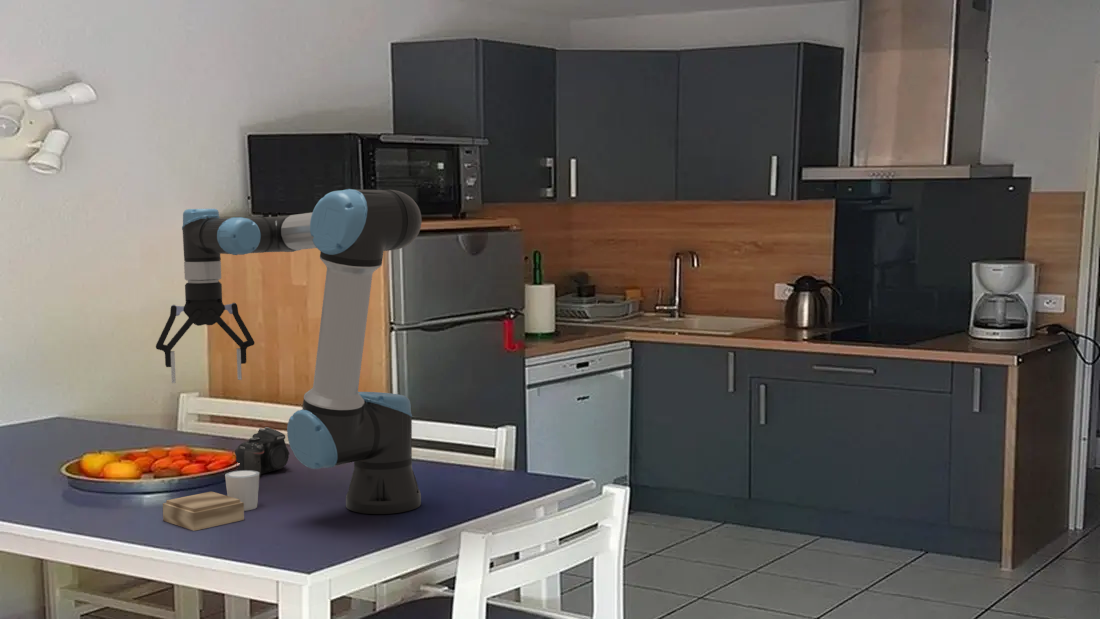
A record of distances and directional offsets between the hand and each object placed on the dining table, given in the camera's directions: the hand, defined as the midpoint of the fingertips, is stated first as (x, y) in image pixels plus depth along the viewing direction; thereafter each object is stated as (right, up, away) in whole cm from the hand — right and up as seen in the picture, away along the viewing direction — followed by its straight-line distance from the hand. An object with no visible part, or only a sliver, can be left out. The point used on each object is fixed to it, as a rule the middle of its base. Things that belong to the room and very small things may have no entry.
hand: (206, 380), depth 271 cm
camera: (+8, -22, +18) cm, 30 cm away
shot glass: (+11, -25, -14) cm, 31 cm away
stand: (+6, -26, -24) cm, 36 cm away
